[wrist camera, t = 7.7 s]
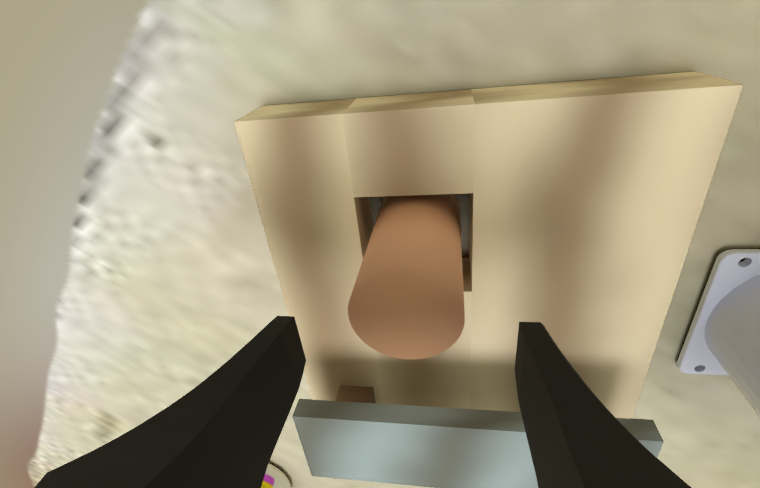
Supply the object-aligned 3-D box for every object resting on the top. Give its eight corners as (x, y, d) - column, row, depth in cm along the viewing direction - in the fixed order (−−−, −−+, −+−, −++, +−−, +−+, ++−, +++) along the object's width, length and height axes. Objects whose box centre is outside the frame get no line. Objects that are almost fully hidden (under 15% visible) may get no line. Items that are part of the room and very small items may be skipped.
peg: (462, 176, 19) (469, 272, 12) (457, 248, 21) (461, 363, 14) (379, 175, 20) (342, 266, 13) (382, 245, 22) (352, 354, 15)
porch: (695, 71, 16) (846, 113, 10) (609, 386, 25) (660, 509, 19) (263, 105, 19) (177, 153, 13) (327, 373, 28) (294, 474, 22)
